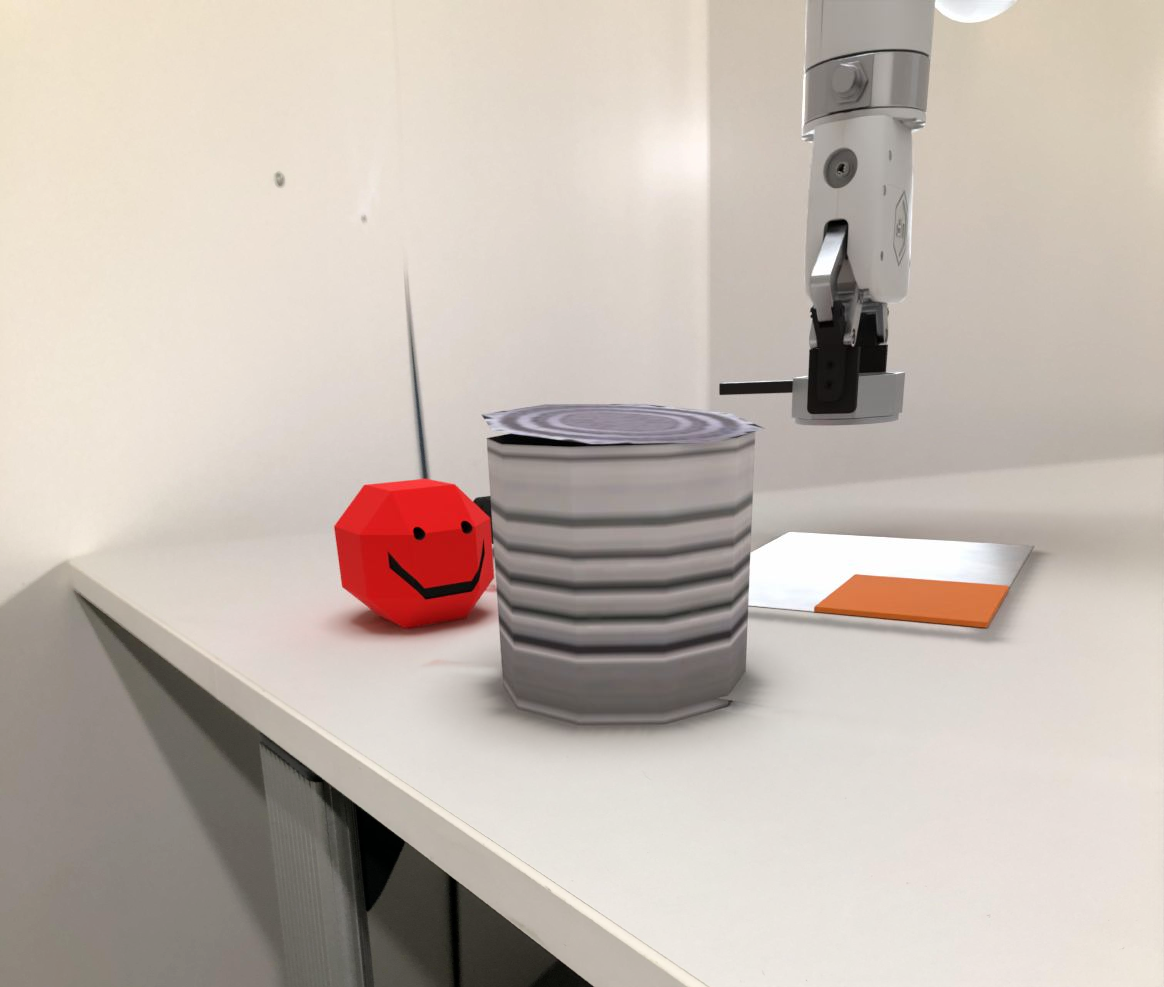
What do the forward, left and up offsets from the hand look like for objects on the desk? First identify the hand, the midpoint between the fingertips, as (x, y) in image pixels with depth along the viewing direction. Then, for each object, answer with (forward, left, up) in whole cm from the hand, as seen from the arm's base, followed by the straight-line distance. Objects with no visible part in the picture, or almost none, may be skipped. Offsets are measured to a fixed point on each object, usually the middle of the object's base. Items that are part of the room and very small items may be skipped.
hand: (846, 407), depth 67 cm
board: (+2, +8, -10) cm, 13 cm away
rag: (+4, +17, -9) cm, 20 cm away
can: (+23, +24, -10) cm, 35 cm away
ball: (+31, +8, -10) cm, 34 cm away
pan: (+2, -2, -1) cm, 3 cm away
